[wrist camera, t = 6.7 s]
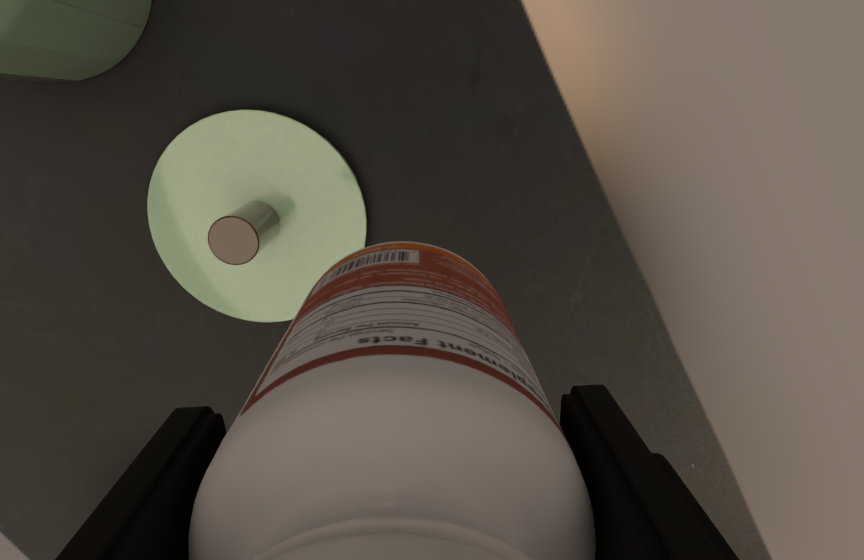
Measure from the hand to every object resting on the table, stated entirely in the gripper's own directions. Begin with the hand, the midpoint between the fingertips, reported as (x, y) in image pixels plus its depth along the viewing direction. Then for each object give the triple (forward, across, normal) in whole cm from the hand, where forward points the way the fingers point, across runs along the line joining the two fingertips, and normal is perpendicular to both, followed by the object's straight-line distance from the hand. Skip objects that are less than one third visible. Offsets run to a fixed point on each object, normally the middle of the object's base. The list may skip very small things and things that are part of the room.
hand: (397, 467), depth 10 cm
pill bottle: (+6, 0, 0) cm, 6 cm away
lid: (+23, +9, 0) cm, 24 cm away
